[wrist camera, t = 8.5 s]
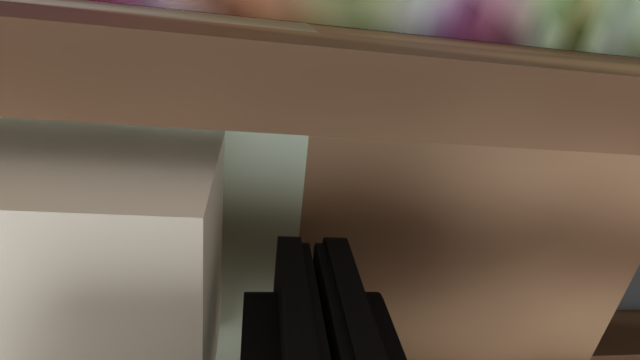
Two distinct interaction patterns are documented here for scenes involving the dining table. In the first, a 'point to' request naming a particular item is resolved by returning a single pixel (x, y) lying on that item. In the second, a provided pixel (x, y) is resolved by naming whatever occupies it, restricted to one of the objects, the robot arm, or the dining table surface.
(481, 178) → the box
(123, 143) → the ivory block
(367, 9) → the dining table surface
